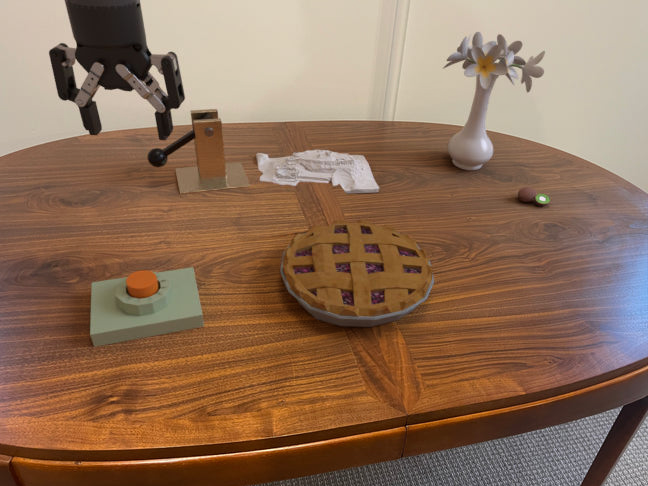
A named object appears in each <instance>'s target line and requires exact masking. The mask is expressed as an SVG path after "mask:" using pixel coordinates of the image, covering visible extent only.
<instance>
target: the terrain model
mask: <svg viewBox="0 0 648 486" xmlns="http://www.w3.org/2000/svg"><path fill="white" fill-rule="evenodd" d="M255 160H256V165H257V168H258V171H259V172H261V173H262V174H261V175H260V177H259V182H269V183H272V184H277V185H279V186H286V185H287V186H292V187H297V185H298V184H299V183H300V182H302V183H303V182H304V183H320V184H321V183H322V184H329V183H330V182H331V185H332V186H333V187H336V186H338V185H340V187H341V188H342V189H343V191H344V193H345V194H371V193H374V194H375V193H379V191H380V186H379V185H378V183H377V182H376V180H375V178H374V175H373V172H372V170H371V167H370V165H369V161H367V159H366V157H365V156H364V155H363V154H362V155H361V154H349V153H348V152H343V153H341V152H338V151H332V150H328V149H313V150H307V149H306V150H305V151H302V152H300V151H298V152H292V155H288V156H284V157H283V156H282V157H269V154H267V153H264V152H257V153H256V155H255Z"/></svg>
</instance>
